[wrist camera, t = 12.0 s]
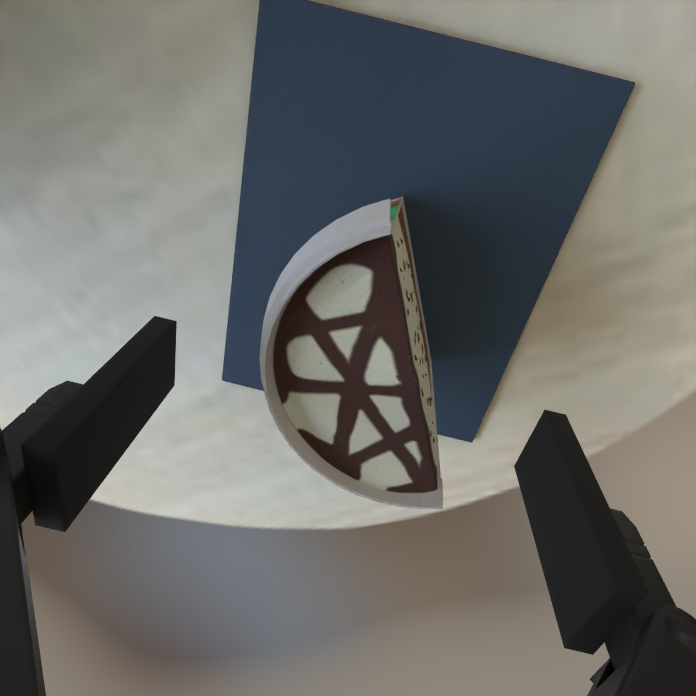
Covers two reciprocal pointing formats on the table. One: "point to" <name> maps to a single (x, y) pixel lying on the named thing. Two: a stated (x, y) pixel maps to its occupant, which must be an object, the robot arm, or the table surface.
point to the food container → (356, 360)
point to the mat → (416, 177)
